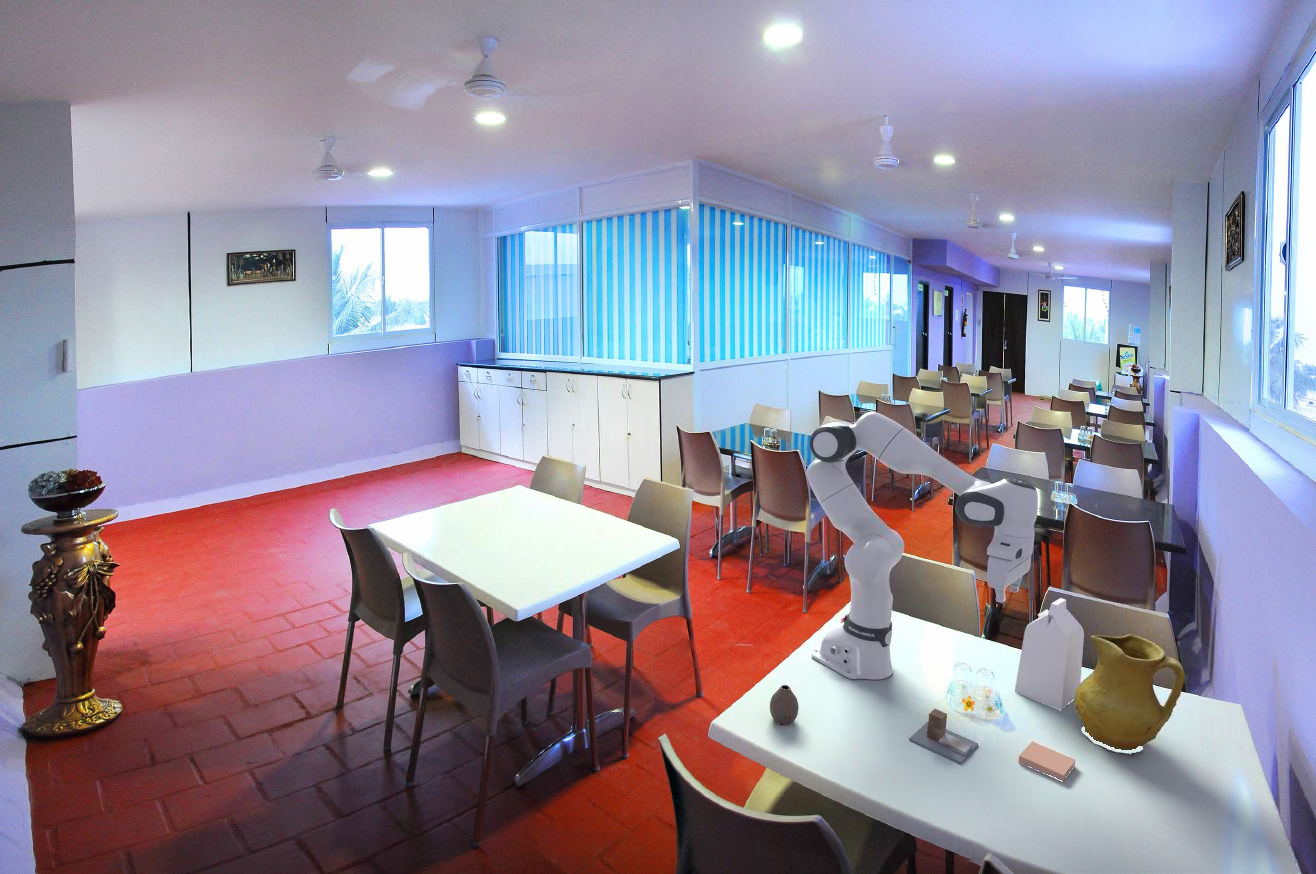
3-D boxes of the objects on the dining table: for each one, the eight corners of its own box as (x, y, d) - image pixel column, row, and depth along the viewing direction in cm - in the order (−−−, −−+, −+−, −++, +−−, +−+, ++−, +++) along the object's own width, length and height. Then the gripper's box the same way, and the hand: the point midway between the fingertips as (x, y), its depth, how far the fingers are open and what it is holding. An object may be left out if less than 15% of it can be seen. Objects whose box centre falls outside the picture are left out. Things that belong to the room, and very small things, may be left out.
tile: (1019, 755, 154) (1063, 775, 147) (1032, 741, 159) (1075, 759, 153) (1018, 764, 154) (1062, 784, 148) (1031, 749, 159) (1074, 768, 153)
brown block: (925, 737, 161) (928, 714, 160) (933, 730, 164) (935, 707, 163) (964, 755, 155) (967, 731, 154) (971, 747, 158) (974, 724, 157)
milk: (1061, 711, 175) (1073, 615, 170) (1014, 691, 183) (1025, 599, 179) (1079, 695, 182) (1092, 603, 178) (1034, 677, 191) (1045, 589, 186)
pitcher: (1097, 709, 175) (1114, 619, 169) (1177, 754, 159) (1199, 657, 153) (1053, 726, 168) (1068, 633, 162) (1131, 776, 152) (1152, 675, 146)
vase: (783, 732, 163) (785, 698, 162) (763, 718, 169) (764, 685, 167) (803, 722, 167) (805, 689, 166) (782, 709, 173) (784, 677, 171)
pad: (909, 740, 161) (909, 738, 161) (927, 723, 168) (927, 721, 168) (961, 764, 153) (961, 762, 153) (978, 745, 160) (978, 743, 160)
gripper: (1014, 532, 180) (1008, 582, 182) (984, 549, 165) (978, 603, 168) (1040, 537, 175) (1034, 589, 178) (1012, 556, 161) (1006, 611, 163)
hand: (1007, 596), depth 173 cm, fingers open, 8 cm apart
